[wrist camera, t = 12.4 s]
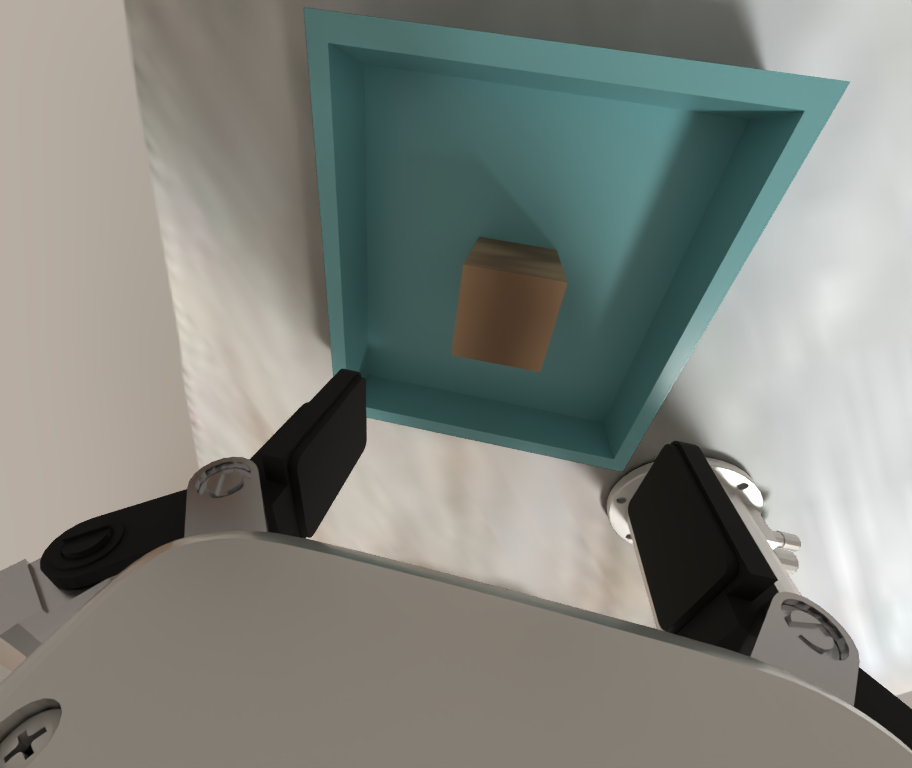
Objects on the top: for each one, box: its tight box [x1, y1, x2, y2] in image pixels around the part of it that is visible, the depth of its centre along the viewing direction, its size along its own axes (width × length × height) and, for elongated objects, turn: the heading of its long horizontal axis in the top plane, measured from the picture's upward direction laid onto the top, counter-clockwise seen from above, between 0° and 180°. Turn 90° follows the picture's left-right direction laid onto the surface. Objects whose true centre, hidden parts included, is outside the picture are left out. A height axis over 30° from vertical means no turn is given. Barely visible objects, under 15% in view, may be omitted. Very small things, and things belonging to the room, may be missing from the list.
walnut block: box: [451, 237, 568, 372], centre depth 21 cm, size 5×5×7 cm
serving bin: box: [304, 7, 850, 472], centre depth 22 cm, size 22×22×5 cm
